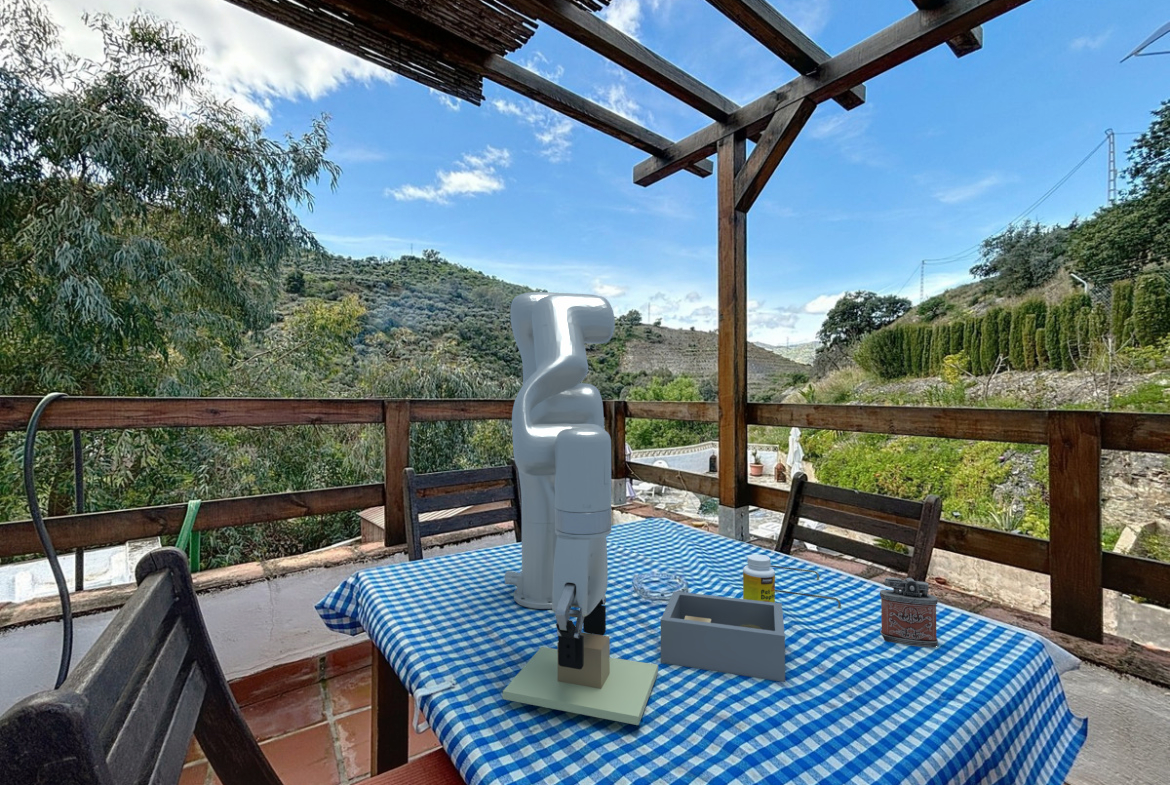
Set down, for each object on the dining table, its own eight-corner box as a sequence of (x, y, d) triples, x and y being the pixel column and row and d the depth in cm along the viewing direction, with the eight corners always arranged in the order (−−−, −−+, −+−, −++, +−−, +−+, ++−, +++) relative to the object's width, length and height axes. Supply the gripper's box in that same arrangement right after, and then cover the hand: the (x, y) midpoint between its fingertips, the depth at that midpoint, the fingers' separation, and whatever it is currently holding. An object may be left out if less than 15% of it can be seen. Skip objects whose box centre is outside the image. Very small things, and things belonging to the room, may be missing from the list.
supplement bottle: (761, 622, 93) (761, 563, 93) (736, 611, 98) (736, 556, 98) (781, 615, 96) (781, 558, 96) (756, 605, 101) (756, 551, 101)
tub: (660, 667, 77) (660, 619, 77) (673, 633, 89) (673, 591, 89) (785, 687, 72) (784, 636, 72) (782, 648, 83) (781, 603, 83)
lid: (502, 710, 67) (502, 651, 68) (541, 663, 79) (541, 613, 79) (638, 738, 62) (638, 673, 62) (658, 682, 74) (657, 628, 74)
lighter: (934, 640, 86) (933, 578, 86) (940, 649, 83) (940, 585, 83) (878, 633, 89) (877, 573, 89) (882, 641, 85) (882, 579, 86)
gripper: (578, 506, 80) (578, 619, 80) (530, 534, 64) (530, 677, 64) (626, 509, 78) (626, 626, 78) (589, 540, 61) (590, 687, 61)
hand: (583, 648), depth 71 cm, fingers open, 9 cm apart
